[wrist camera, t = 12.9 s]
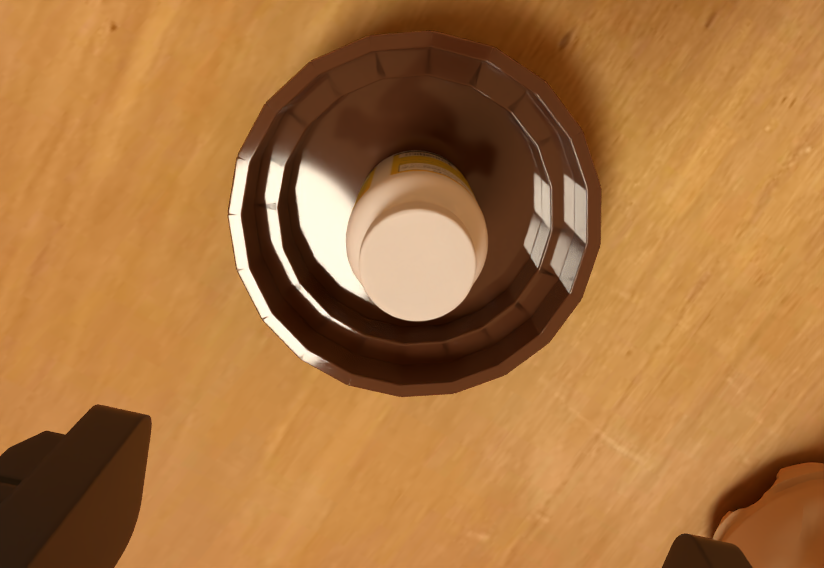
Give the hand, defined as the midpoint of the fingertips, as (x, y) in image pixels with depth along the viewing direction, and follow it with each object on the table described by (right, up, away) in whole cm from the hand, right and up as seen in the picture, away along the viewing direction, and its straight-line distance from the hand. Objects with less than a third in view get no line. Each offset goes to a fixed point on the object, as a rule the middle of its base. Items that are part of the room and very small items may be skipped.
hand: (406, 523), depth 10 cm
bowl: (0, +7, +22) cm, 23 cm away
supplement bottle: (0, +7, +22) cm, 23 cm away
